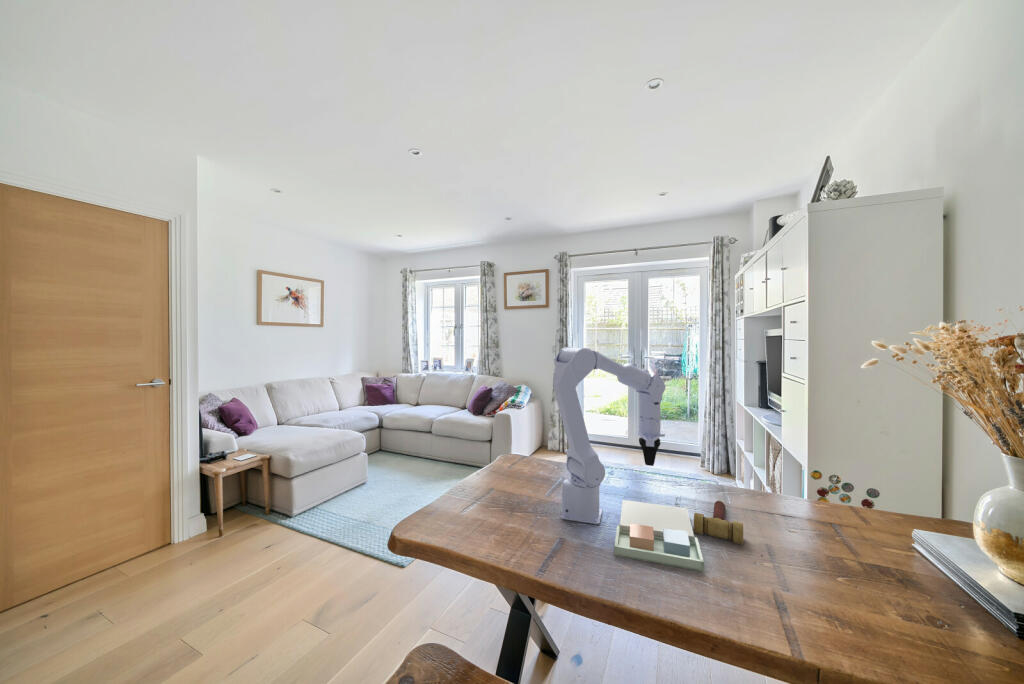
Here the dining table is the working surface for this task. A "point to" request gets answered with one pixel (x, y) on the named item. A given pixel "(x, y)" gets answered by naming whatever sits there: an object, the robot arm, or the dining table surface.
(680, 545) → the tile slate
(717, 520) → the gavel
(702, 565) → the tray
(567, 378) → the robot arm
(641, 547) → the tile terracotta
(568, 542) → the dining table surface
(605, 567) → the dining table surface
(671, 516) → the board
